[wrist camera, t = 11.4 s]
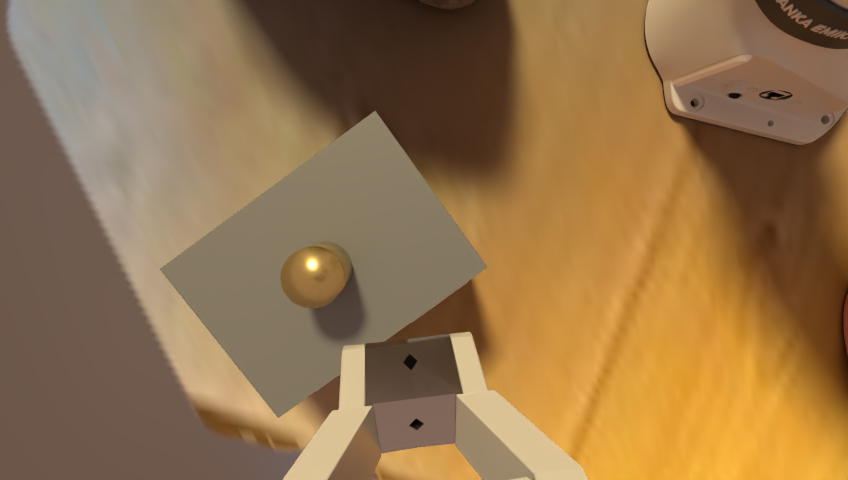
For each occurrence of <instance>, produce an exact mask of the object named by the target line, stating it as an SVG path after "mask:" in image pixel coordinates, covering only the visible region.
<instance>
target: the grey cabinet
mask: <svg viewBox="0 0 848 480" xmlns="http://www.w3.org/2000/svg"><path fill="white" fill-rule="evenodd" d="M321 242H330V243H334V244H337V245H339V246H340V247H342V248H343V249H344V250H345V251H346V252H347V253H348V255H349V256H350V259H351V261H352V268H353V269H352V276H351V279H350V281H349V282H348V284H347V285H346V286H345V287H344V289H343V290H342V291H341V292H340V293H339V294H338V296H337V297H336V298H335V299H334V300H333V301H332V302H331V303H329V304H327V305H325V306H323V307H320V308H313V309H311V308H304V307H301V306H299V305H297V304H295V303H293V302H292V301H291V300H290V299H289V298H288V297H287V296H286V294H285V293H284V291H283V288H282V285H281V270H282V267H283V265H284V263H285V261H286V260H287V258H288V257H289V256H290V255H292V254H293V253H294V252H296V251H298V250H300V249H303V248H306V247H309V246H311V245H314V244H317V243H321ZM486 268H487V266H486V264H485V263H484V261H483V260H482V259H481V257H480V256H479V255H478V253H477V252H476V250H475V249H474V248H473V246H472V245H471V243H470V242H469V241H468V239H467V238H466V236H465V235H464V234H463V232H462V231H461V229H460V228H459V227H458V225H457V224H456V222H455V221H454V220H453V218H452V217H451V215H450V214H449V213H448V211H447V210H446V209H445V207H444V206H443V204H442V203H441V202H440V200H439V199H438V197H437V196H436V195H435V193H434V192H433V190H432V189H431V188H430V186H429V185H428V183H427V182H426V181H425V179H424V178H423V176H422V175H421V174H420V172H419V171H418V169H417V168H416V167H415V165H414V164H413V162H412V161H411V160H410V158H409V157H408V156H407V154H406V153H405V151H404V150H403V149H402V147H401V146H400V144H399V143H398V142H397V140H396V139H395V137H394V136H393V135H392V133H391V132H390V130H389V129H388V128H387V126H386V125H385V123H384V122H383V121H382V119H381V118H380V116H379V115H378V114H377V112H376V111H374V112H373V113H371V114H370V115H369V116H367V117H366V118H365V119H363V120H362V121H361V122H359V123H358V124H356V125H355V126H354V127H352V128H351V129H350V130H348V131H347V132H346V133H344V134H343V135H341V136H340V137H339V138H337V139H336V140H335V141H333V142H332V143H331V144H329V145H328V146H327V147H325V148H324V149H322V150H321V151H320V152H318V153H317V154H316V155H314V156H313V157H312V158H310V159H309V160H308V161H306V162H305V163H303V164H302V165H301V166H299V167H298V168H297V169H295V170H294V171H293V172H291V173H290V174H288V175H287V176H286V177H284V178H283V179H282V180H280V181H279V182H278V183H276V184H275V185H274V186H272V187H271V188H269V189H268V190H267V191H265V192H264V193H263V194H261V195H260V196H259V197H257V198H256V199H254V200H253V201H252V202H250V203H249V204H248V205H246V206H245V207H244V208H242V209H241V210H240V211H238V212H237V213H235V214H234V215H233V216H231V217H230V218H229V219H227V220H226V221H225V222H223V223H222V224H220V225H219V226H218V227H216V228H215V229H214V230H212V231H211V232H210V233H208V234H207V235H206V236H204V237H203V238H201V239H200V240H199V241H197V242H196V243H195V244H193V245H192V246H191V247H189V248H188V249H186V250H185V251H184V252H182V253H181V254H180V255H178V256H177V257H176V258H174V259H173V260H172V261H170V262H169V263H167V264H166V265H165V266H163V267H162V268H161V269H160V270H161V271H162V273H163V274H164V275H165V276H166V278H167V279H168V280H169V281H170V283H171V284H172V285H173V286H174V288H175V289H176V290H177V291H178V293H179V294H180V295H181V296H182V298H183V299H184V300H185V301H186V303H187V304H188V305H189V306H190V308H191V309H192V310H193V311H194V313H195V314H196V315H197V317H198V318H199V319H200V320H201V322H202V323H203V324H204V325H205V327H206V328H207V329H208V330H209V332H210V333H211V334H212V335H213V337H214V338H215V339H216V340H217V342H218V343H219V344H220V345H221V347H222V348H223V349H224V350H225V352H226V353H227V354H228V355H229V357H230V358H231V359H232V360H233V362H234V363H235V364H236V365H237V367H238V368H239V369H240V370H241V372H242V373H243V374H244V376H245V377H246V378H247V379H248V381H249V382H250V383H251V384H252V386H253V387H254V388H255V389H256V391H257V392H258V393H259V394H260V396H261V397H262V398H263V399H264V401H265V402H266V403H267V404H268V406H269V407H270V408H271V409H272V411H273V412H274V413H275V414H276V416H277V417H278V418H279V417H280V416H282V415H283V414H285V413H286V412H287V411H289V410H290V409H292V408H293V407H294V406H296V405H297V404H299V403H300V402H301V401H303V400H304V399H305V398H307V397H308V396H310V395H311V394H312V393H314V392H315V391H317V390H318V389H319V388H321V387H322V386H323V385H325V384H326V383H328V382H329V381H330V380H332V379H333V378H335V377H336V376H337V375H339V374H340V373H341V359H342V350H343V347H344V346H347V345H357V344H366V343H376V342H385V341H386V340H387V339H389V338H390V337H391V336H393V335H394V334H396V333H397V332H398V331H400V330H401V329H403V328H404V327H405V326H407V325H408V324H410V323H411V322H412V321H414V320H415V319H416V318H418V317H419V316H421V315H422V314H423V313H425V312H426V311H428V310H429V309H430V308H432V307H433V306H434V305H436V304H437V303H439V302H440V301H441V300H443V299H444V298H446V297H447V296H448V295H450V294H451V293H453V292H454V291H455V290H457V289H458V288H459V287H461V286H462V285H464V284H465V283H466V282H468V281H469V280H471V279H472V278H473V277H475V276H476V275H477V274H479V273H480V272H482V271H483V270H484V269H486Z"/></svg>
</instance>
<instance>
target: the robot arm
mask: <svg viewBox="0 0 848 480" xmlns="http://www.w3.org/2000/svg"><path fill="white" fill-rule="evenodd" d="M645 36H646V43H647V47H648V50H649V53H650V56H651V58H652V61H653V63H654V64H655V66H656V68H657V70H658V72H659V73H660V76H661V78H662V80H663V85H664V95H665V101H666V105H667V108H668V109H669V111H670V112H671V113H673V114H675V115H679V116H683V117H687V118H691V119H695V120H699V121H703V122H707V123H711V124H715V125H719V126H723V127H727V128H731V129H735V130H739V131H743V132H747V133H751V134H755V135H759V136H763V137H767V138H771V139H775V140H779V141H783V142H787V143H791V144H795V145H805V144H808V143H811V142H813V141H815V140H817V139H818V138H820V137H821V136H822V135H824V134H825V133H826V132H827V131H828V130H829V129H831V128H832V126H833V125H834V124H835V123H836V122H837V121H838V120H839V118H840V117H841V116H842V115H843V113H844V112H845V110H846V109H847V107H848V0H649V2H648V6H647V10H646V17H645ZM691 101H693V102H694V107H692V106H691ZM821 119H822V122H821ZM453 443H455V445H456V447H457V448H458V449H459V450H460V452H461V453H462V454H463V455H464V457H465V458H466V459H467V461H468V462H469V463H470V464H471V466H472V467H473V468H474V469H475V471H476V472H477V473H478V474H479V476H480V477H481V478H482V479H483V480H588V479H587V477H586V475H585V473H584V470H583V468H582V467H581V466H580V465H579V464H578V463H577V462H576V461H575V460H573V459H572V458H571V457H570V456H569V455H568V454H567V453H566V452H564V451H563V450H562V449H561V448H560V447H559V446H558V445H557V444H555V443H554V442H553V441H552V440H551V439H550V438H549V437H548V436H546V435H545V434H544V433H543V432H542V431H541V430H540V429H539V428H537V427H536V426H535V425H534V424H533V423H532V422H531V421H530V420H528V419H527V418H526V417H525V416H524V415H523V414H522V413H521V412H519V411H518V410H517V409H516V408H515V407H514V406H513V405H512V404H510V403H509V402H508V401H507V400H506V399H505V398H504V397H503V396H501V395H500V394H499V393H498V392H497V391H496V390H488V387H487V383H486V380H485V377H484V373H483V370H482V366H481V363H480V360H479V356H478V353H477V349H476V346H475V343H474V339H473V336H472V334H471V333H470V332H462V333H454V334H449V335H448V334H443V335H435V336H428V337H420V338H412V339H407V340H398V341H387V342H376V343H366V344H357V345H347V346H344V347H343V350H342V359H341V377H340V394H339V410H332V411H331V413H330V414H329V415H328V417H327V418H326V420H325V421H324V422H323V424H322V425H321V427H320V428H319V429H318V431H317V432H316V434H315V435H314V436H313V438H312V439H311V441H310V442H309V443H308V445H307V446H306V448H305V449H304V450H303V452H302V453H301V455H300V456H299V457H298V459H297V460H296V462H295V463H294V465H293V466H292V467H291V469H290V470H289V471H288V473H287V474H286V476H285V477H284V479H283V480H370V479H371V476H372V474H373V472H374V470H375V468H376V466H377V464H378V462H379V460H380V458H381V453H387V452H393V451H399V450H405V449H411V448H417V447H425V446H435V445H444V444H453Z"/></svg>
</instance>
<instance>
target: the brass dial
mask: <svg viewBox="0 0 848 480" xmlns="http://www.w3.org/2000/svg"><path fill="white" fill-rule="evenodd" d="M352 269H353V268H352V261H351V259H350V256H349V255H348V253H347V252H346V251H345V250H344V249H343V248H342V247H340V246H339V245H337V244H334V243H330V242H321V243H317V244H314V245H311V246H309V247H306V248H303V249H300V250H298V251H296V252H294V253H293V254H292V255H290V256H289V257H288V258H287V260H286V261H285V263H284V265H283V267H282V270H281V285H282V288H283V291H284V293H285V294H286V296H287V297H288V298H289V299H290V300H291V301H292V302H293V303H295V304H297V305H299V306H301V307H304V308H311V309H313V308H320V307H323V306H325V305H327V304H329V303H331V302H332V301H333V300H334V299H335V298H336V297H337V296H338V294H339V293H340V292H341V291H342V290H343V289H344V287H345V286H346V285H347V284H348V282H349V281H350V279H351V276H352Z"/></svg>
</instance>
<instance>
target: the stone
mask: <svg viewBox="0 0 848 480" xmlns="http://www.w3.org/2000/svg"><path fill="white" fill-rule="evenodd" d="M418 1H420V2H421V3H424V4H428V5H431V6H434V7H437V8H442V9H449V10H452V9H457V8H461V7H465V6H468V5H471V4H472V3H473V2H474V1H476V0H418Z"/></svg>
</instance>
